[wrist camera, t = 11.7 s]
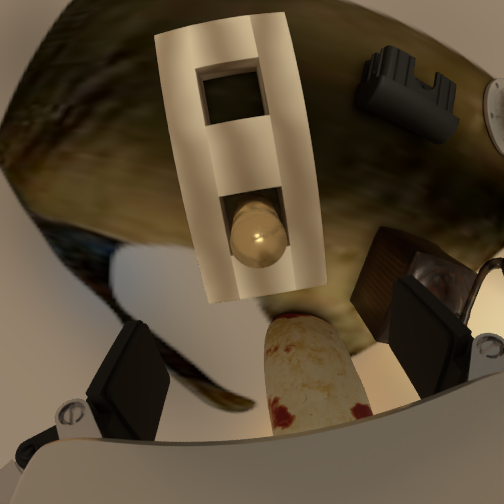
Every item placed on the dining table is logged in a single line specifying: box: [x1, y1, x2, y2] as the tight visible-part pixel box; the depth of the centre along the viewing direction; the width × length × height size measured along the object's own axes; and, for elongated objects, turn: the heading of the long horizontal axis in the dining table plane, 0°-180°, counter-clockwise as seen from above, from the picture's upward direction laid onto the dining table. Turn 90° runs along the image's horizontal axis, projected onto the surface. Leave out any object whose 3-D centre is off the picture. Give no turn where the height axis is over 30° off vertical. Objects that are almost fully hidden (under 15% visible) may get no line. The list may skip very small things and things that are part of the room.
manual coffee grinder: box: [350, 226, 504, 344], centre depth 25 cm, size 16×11×18 cm
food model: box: [264, 313, 373, 436], centre depth 27 cm, size 10×7×20 cm
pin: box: [230, 191, 287, 268], centre depth 26 cm, size 4×4×11 cm
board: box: [155, 12, 327, 304], centre depth 26 cm, size 12×27×5 cm, turn 10°
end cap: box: [357, 46, 460, 144], centre depth 24 cm, size 10×7×7 cm
